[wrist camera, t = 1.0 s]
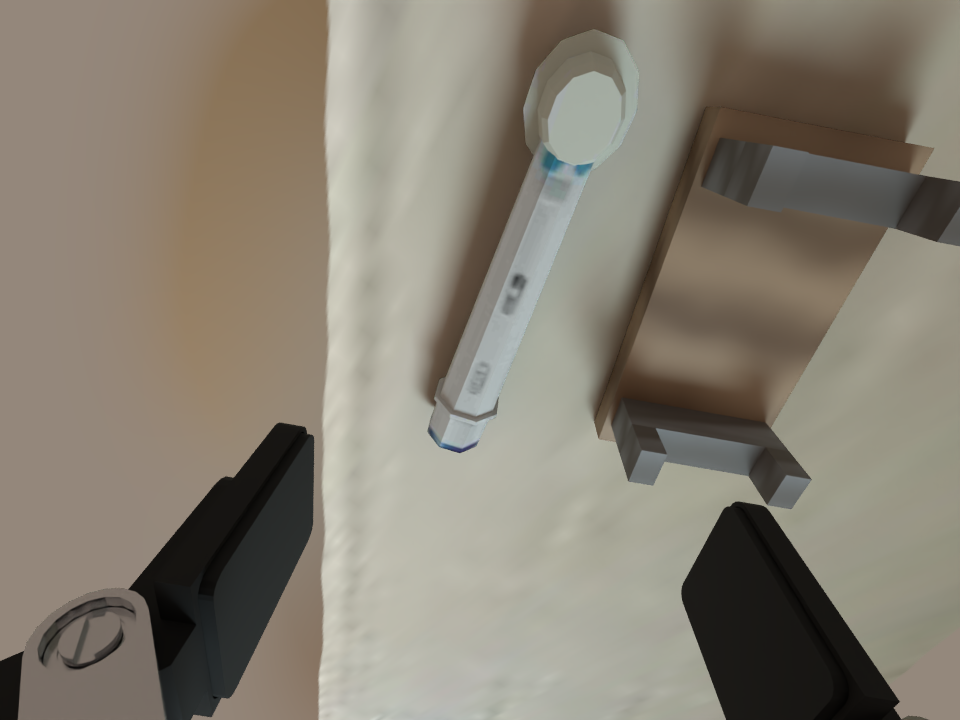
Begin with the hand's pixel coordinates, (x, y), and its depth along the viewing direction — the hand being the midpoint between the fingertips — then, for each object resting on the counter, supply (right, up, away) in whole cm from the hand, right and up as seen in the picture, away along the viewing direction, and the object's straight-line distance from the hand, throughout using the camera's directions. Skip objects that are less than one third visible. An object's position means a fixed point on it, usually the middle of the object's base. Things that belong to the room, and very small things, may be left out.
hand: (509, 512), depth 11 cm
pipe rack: (+15, +7, +19) cm, 25 cm away
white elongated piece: (+1, +9, +19) cm, 22 cm away
